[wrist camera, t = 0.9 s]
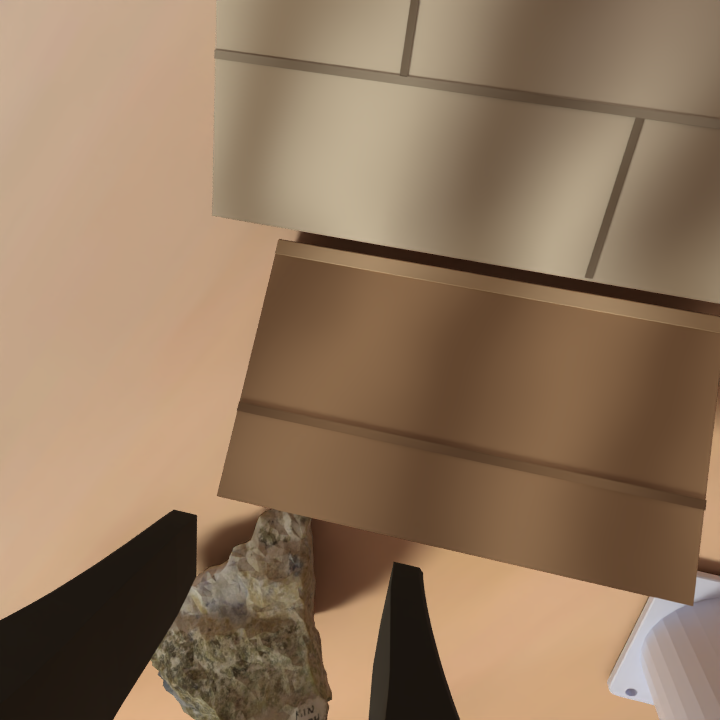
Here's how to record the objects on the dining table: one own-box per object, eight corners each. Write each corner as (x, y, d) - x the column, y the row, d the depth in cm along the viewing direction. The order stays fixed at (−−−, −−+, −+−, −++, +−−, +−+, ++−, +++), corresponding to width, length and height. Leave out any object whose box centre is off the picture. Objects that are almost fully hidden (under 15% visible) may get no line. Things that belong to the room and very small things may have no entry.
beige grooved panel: (968, -56, 14) (1024, -77, 12) (789, 307, 18) (815, 320, 16) (239, -129, 16) (218, -154, 14) (228, 211, 20) (211, 215, 18)
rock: (289, 494, 23) (332, 774, 18) (354, 509, 28) (401, 732, 23) (110, 563, 27) (106, 811, 22) (195, 565, 32) (207, 767, 27)
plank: (701, 327, 18) (727, 316, 17) (669, 593, 17) (694, 606, 15) (287, 253, 20) (278, 238, 18) (230, 492, 18) (216, 496, 17)
